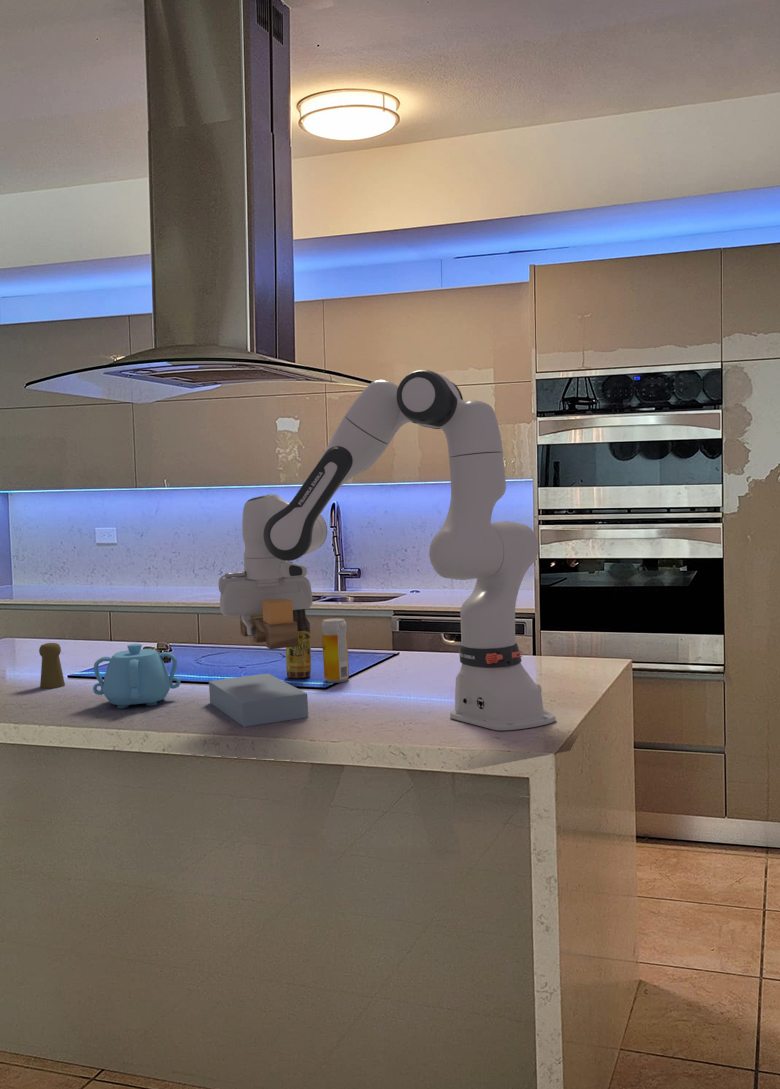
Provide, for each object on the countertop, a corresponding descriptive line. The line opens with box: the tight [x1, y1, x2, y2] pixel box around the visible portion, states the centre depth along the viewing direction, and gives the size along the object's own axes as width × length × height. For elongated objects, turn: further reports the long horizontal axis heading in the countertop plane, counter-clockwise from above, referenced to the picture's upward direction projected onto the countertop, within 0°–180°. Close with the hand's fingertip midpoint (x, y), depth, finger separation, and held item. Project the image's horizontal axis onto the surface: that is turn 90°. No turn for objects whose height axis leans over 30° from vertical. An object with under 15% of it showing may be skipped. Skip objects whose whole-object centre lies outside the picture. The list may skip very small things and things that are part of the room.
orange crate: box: [262, 598, 293, 625], centre depth 214 cm, size 5×5×4 cm
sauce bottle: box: [285, 609, 312, 679], centre depth 254 cm, size 6×6×20 cm
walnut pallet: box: [239, 615, 298, 650], centre depth 221 cm, size 22×6×5 cm, turn 25°
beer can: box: [321, 617, 350, 684], centre depth 248 cm, size 6×6×15 cm
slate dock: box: [208, 673, 309, 728], centre depth 221 cm, size 26×14×5 cm, turn 25°
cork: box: [38, 642, 66, 690], centre depth 257 cm, size 6×6×11 cm
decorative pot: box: [92, 643, 181, 709], centre depth 234 cm, size 16×16×14 cm
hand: (268, 632), depth 221 cm, fingers closed on walnut pallet, 6 cm apart
